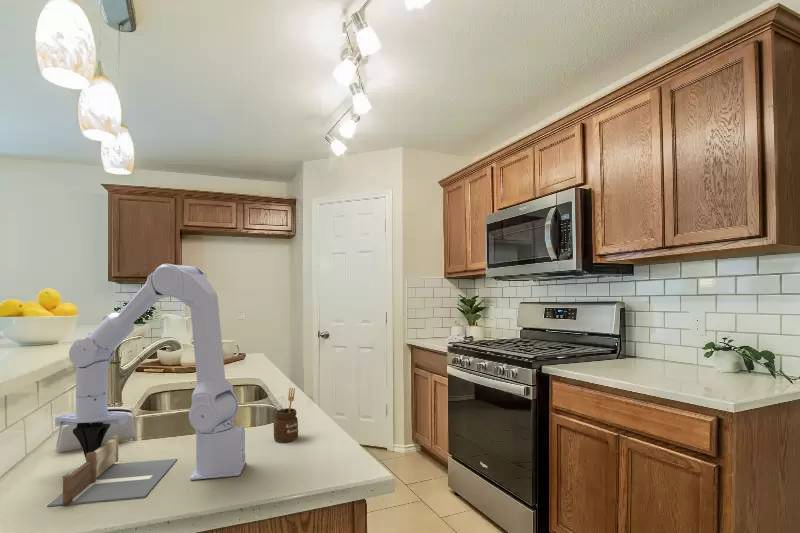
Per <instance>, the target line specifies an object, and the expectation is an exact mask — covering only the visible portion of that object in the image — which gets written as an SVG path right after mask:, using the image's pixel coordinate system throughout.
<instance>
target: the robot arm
mask: <svg viewBox="0 0 800 533" xmlns="http://www.w3.org/2000/svg"><path fill="white" fill-rule="evenodd" d="M218 297H219V296H218V294H217V292H216V291H215V289H214V288H213V286H212V284H211V283H210V281H209V279H208V275H207V272H206V271H204V270H203V269H200V268H199V267H197V266H195V265H180V264H179V265H178V264H173V263H172V264H171V263H163V264H160V265H159V266H158V267H156V268H155V270H154V271H153V272H151V273H150V274H148V276H147V277H146V282H145V284H144V285H142V287H140V289H139V290H138V291H137V292H136V294H134V296H133V297H132V298H131V299H130V301H128V303H126V304H125V306H124V307H123V308H122V310H121V311H120V312H111V313H110V314H105V315H104V316H103V317H102V320H103V321H102V322H101V323H100V324H99V325H98V326H96V328H94V330H91V331H89V332H88V334H87V335H88V336H86V337H85V338H80V339H77V340H75V341H74V342H73V344H71V346H70V348H69V351H68V357H69V360H70V362H71V363H72V365H74V366H75V413H70V414H68V413H67V414H61V415H60V414H59V415H58V416H55V417H54V418H55V419H54V422H55V424H54V426H55V427H60V426H62V425H77V427H76V428H75V429H73V434H74V435H75V436H76V437H77V439H78V440H79V442H80V444H81V446H82V448H81V450H82V452H83V455H84V459H85V460H86V454H87V453H89V452H94V451H95V450H97V449H98V448H100V447H101V446H102V445H103V444H102V441H103V438H104V436H105V434H106V432H107V430H108V429H109V427H110V424H119V425H120V424H125V423H127V422H128V413H117V412H108V407H109V406H108V402H109V398H108V396H109V392H108V391H109V389H108V388H109V387H108V386H109V385H108V384H109V383H108V382H109V381H108V378H109V377H108V376H109V369H110V368H111V367H110V365H111V364H110V363H111V360H112V359H113V357H114V355H115V349H117V347H119V345H120V344H121V343H122V342H123V341H124V340H126V338H127V337H128V336H130V335H131V334H132V333H133V332H134V329H135V324H134V323H135V322H136V321H137V320H138V319H139V318H140V317H142V315H144V314H145V313H146V312H147V311H148V310H150V309H151V308H152V307H153V306H154V305H155V304H156V303H158V302H159V300H161V299H165V298H173V299H174V298H175V299H176V300H179V301H180V302H182V303H183V304H185V305H186V306H187V307H189V309H190V317H191V327H192V328H191V329H192V341H193V352H194V362H195V363H194V364H195V371H196V372H195V373H196V385H195V388H194V389H193V392H192V394H191V406H190V409H189V412H188V420H189V424H190V426H191V427H192V428H193V429H194V431H195V432H194V433H195V451H196V452H195V460H196V461H195V466H196V468H195V469H194V471H193V473H192V474H191V475H190V477H189V480H190V481H193V480H194V481H195V480H206V479H215V478H227V477H236V476H237V477H238V476H240V475H241V474H242V471H243V469H244V468H245V467H244V466H245V464H246V462H247V461H246V431H245V430H246V429H245V426H244V425H234V417H235V416H236V415H237V413H238V411H239V408H240V406H239V404H240V403H239V400H238V398H237V396H236V394H235V392H234V385H233V384H232V382H230V381H229V380H228V379H226V373H225V361H224V360H225V359H224V350H223V340H222V332H221V331H222V330H221V329H222V328H221V319H220V318H221V317H220V308H219V298H218Z"/></svg>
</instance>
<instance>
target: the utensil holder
mask: <svg viewBox="0 0 800 533" xmlns="http://www.w3.org/2000/svg"><path fill="white" fill-rule="evenodd" d="M295 390H296V388H295V387H289V388H288V397H287V399H288V401H289V406H288V408H287V407H286V406H287V405H284V406H282V404H280V403H277V404H275V406H276V409H277V410H276V411H275V412H274V417H275V418H274V420H273V439H274V441H275V442H276V443H280V444H281V443H292V442H294V441H297V439H298V437H299V421H298V420H299V419H298V417H297V409H296V408H292V402H293V401H295V392H296V391H295ZM283 397H284V396H283V395H280V396H279V398H277V401H280V402H282V400H283V402H282V403H287V402H286V401H287V400H286V399H285V397H284V398H283ZM280 398H281V399H280ZM279 404H280V406H279ZM281 406H282V408H279V407H281Z"/></svg>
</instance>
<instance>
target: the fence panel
mask: <svg viewBox="0 0 800 533" xmlns="http://www.w3.org/2000/svg"><path fill="white" fill-rule="evenodd" d="M94 452H96V477H98V476H99V475H100V474H101V473H103V472H104V471H105V470H106V469H107V468H109V467H110V466H111V465H112V464H116V463H117V462H119V441H118V436H117V435H116V436H112V437H111V440H109V441H108V442H107V443H105V444H101V447H100V448H98V449H97V450H95V451H94Z"/></svg>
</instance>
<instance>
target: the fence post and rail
mask: <svg viewBox="0 0 800 533" xmlns="http://www.w3.org/2000/svg"><path fill="white" fill-rule="evenodd" d="M94 482H96V452H89V453H87V454H86V459H85V462H84V463H83V464H81V465H80V466H79V467H78V468H76V469H75V470H74V471H72V472H71V473H68V474H64V475H62V493H63V505H62V506H63V507H66V506H71V505H70V503H71V502H72V499H73V498H74V497H75V496H76V495H78V494H79V493H80V492H81V491H82V490H84V489H85V488H86V487H87V486H88V485H89V484H92V483H94Z"/></svg>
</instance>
